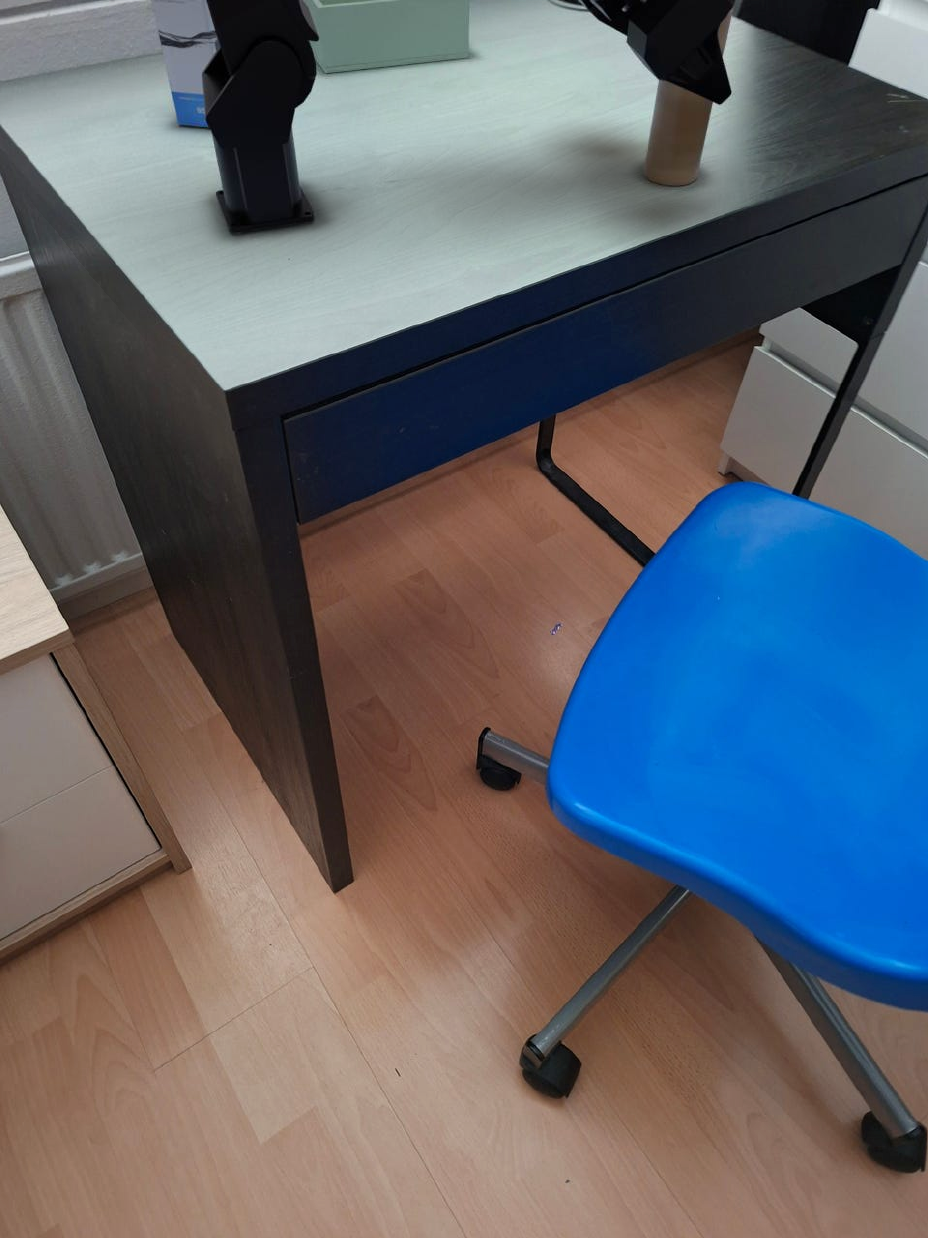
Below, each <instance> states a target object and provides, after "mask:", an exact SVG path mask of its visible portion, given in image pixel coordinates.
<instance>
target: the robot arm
mask: <svg viewBox="0 0 928 1238" xmlns="http://www.w3.org/2000/svg"><path fill="white" fill-rule="evenodd" d="M577 1H578V3H580V5H582V7H584V8H585V9H586V11H588V12H589V13H590V14H591V15H592V16H594V18H595V19H597V20H598V22H600V23H603V24H604V25H606V26H608V27H609V28H611V29H613V30H615V31H617V32H619V33H620V34H622V35H624V36H626V44H627V45H628V46H629V48H630V49H631V51H632V52H633V54H634V55H635V56H636V57H637V58H638V60H639V61H640V62H641V64H642V65H643V66H644V68H646V69H647V71H649V72H650V73H651V74H652V75H653V76H654V77H655V78H656V79H657V80H658V81H659V80H661V81H664V80H665V81H667V82H669V83H672V84H674V85H676V86H679V87H681V88H683V89H686V90H688V91H690V92H692V93H695V94H697V95H699V96H701V97H703V98H705V99H707V100H710V101H712V102H713V104H716V105H719V106H721V105H722V104H724V103H725V102H726V101H727V100H728V99H729V98H730V97H731V95H732V92H733V91H732V87H731V84H730V83H731V82H730V79H729V75H728V72H727V68H726V64H725V60H724V55H723V56H722V52H721V48H720V43H719V38H718V30H719V27H720V24H721V22H722V21H723V20H724V19H725V18H726V17H727V15H728V13H729V11H730V10H731V9H732V8H733V9H734V7H735V3H736V0H577ZM206 2H207V5H208V9H209V12H210V15H211V19H212V22H213V25H214V29H215V32H216V35H217V38H218V41H219V44H220V47H219V48H218V50H217V51H216V53H215V54H214V56H213V57H212V59H211V60H210V62H209V63H208V65H207V66H206V67H205V69H204V70H203V72H202V86H203V97H204V109H205V120H206V123H207V125H208V127H207V128H209V130H210V132H211V137H212V142H213V147H214V151H215V157H216V161H217V167H218V172H219V176H220V177H219V178H220V181H221V182H220V183H221V186H222V189H219V190H217V191H215V197H216V200H217V203H218V207H219V209H220V211H221V214H222V217H223V219H224V222H225V224H226V227H227V230H228V231H229V233H231V234H239V233H246V232H251V231H258V230H265V229H272V228H278V227H287V226H291V225H299V224H304V223H311V222H314V221H315V220H316V217H315V211H314V210H313V208H312V206H311V204H310V202H309V200H308V198H307V196H306V194H305V192H304V190H303V189H302V187H301V184H300V176H299V169H298V163H297V155H296V147H295V140H294V139H295V138H294V132H293V122H294V118H295V112H296V109H297V108H298V107H300V106H301V105H302V104H303V103H305V102H306V100H307V99H308V97H309V96H310V95H311V93H312V91H313V87H314V85H315V81H316V78H317V75H318V73H317V72H318V71H317V61H316V59H315V57H314V53H313V49H312V46H311V43H310V41H315V42H317V41H319V36H318V33H317V30H316V27H315V25H314V22H313V19H312V16H311V13H310V11H309V8H308V6H307V5H306V4H305V2H304V1H303V0H206ZM733 6H734V7H733Z"/></svg>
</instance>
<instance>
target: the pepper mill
mask: <svg viewBox="0 0 928 1238" xmlns="http://www.w3.org/2000/svg"><path fill="white" fill-rule="evenodd" d="M734 7H735V5H734V6H733V8H732V9H731V10H730V11H729V13H728V15H727V17H726V18H725V19H724V20H723V21H722V22H721V24H720V27H719V30H718V38H719V43H720V48H721V52H722V56H723V57H724V53H725V50H726V43H727V39H728V35H729V31H730V25H731V21H732V16H733V11H734ZM713 105H714V102H712V101H710V100H707V99H705V98H703V97H701V96H699V95H697V94H695V93H692V92H690V91H688V90H686V89H683V88H681V87H679V86H676V85H674V84H672V83H669V82H667V81H665V80H664V81H661V80H658V82H657V87H656V94H655V101H654V107H653V111H652V112H653V113H652V119H651V125H650V129H649V130H650V131H649V137H648V143H647V148H646V155H645V161H644V166H643V175H644V177H645V178H646V179H647V180H649V181H651V182H653V183H656V184H659V185H663V186H671V187H679V186H680V187H681V186H686V185H689V184H693V183H694V182H695V181H696V180H697V179H698V175H699V170H700V165H701V161H702V155H703V150H704V146H705V141H706V136H707V133H708V128H709V122H710V117H711V114H712V108H713Z"/></svg>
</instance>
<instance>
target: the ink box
mask: <svg viewBox="0 0 928 1238" xmlns="http://www.w3.org/2000/svg"><path fill="white" fill-rule="evenodd" d="M150 2H151V6H152V9H153V10H152V11H153V15H154V20H155V24H156V28H157V33H158V38H159V42H160V46H161V52H162V56H163V60H164V65H165V70H166V75H167V78H168V83H169V89H170V93H171V97H172V102H173V107H174V111H175V116H176V122H177V124H178V125H181V126H191V127H193V126H194V127H202V128H203V127H204V128H209V127H208V125H207V123H206V120H205V109H204V97H203V86H202V72H203V70H204V69H205V67H206V66H207V65H208V63H209V62H210V60H211V59H212V57H213V56H214V54H215V53H216V51H217V50H218V48H219V47H220V44H219V41H218V38H217V35H216V32H215V29H214V25H213V22H212V19H211V15H210V12H209V9H208V5H207V2H206V0H150Z"/></svg>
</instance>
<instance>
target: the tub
mask: <svg viewBox="0 0 928 1238" xmlns="http://www.w3.org/2000/svg"><path fill="white" fill-rule="evenodd" d="M303 1H304V2H305V4H306V5H307V6H308V8H309V11H310V13H311V16H312V19H313V22H314V25H315V27H316V30H317V33H318V36H319V41H317V42H315V41H310V43H311V46H312V49H313V53H314V57H315V61H316V63H317V64H318V66H319V67H320V69H322V71H323V73H324V74H332V73H333V74H334V73H342V72H352V71H360V70H368V69H377V68H378V69H379V68H386V67H387V68H388V67H395V66H396V67H397V66H405V65H413V64H414V65H415V64H422V63H423V64H424V63H432V62H439V61H440V62H441V61H449V60H456V59H457V60H458V59H468V58H469V57H470V56H469V54H470V53H469V51H470V49H469V48H470V43H469V42H470V0H303Z"/></svg>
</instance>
